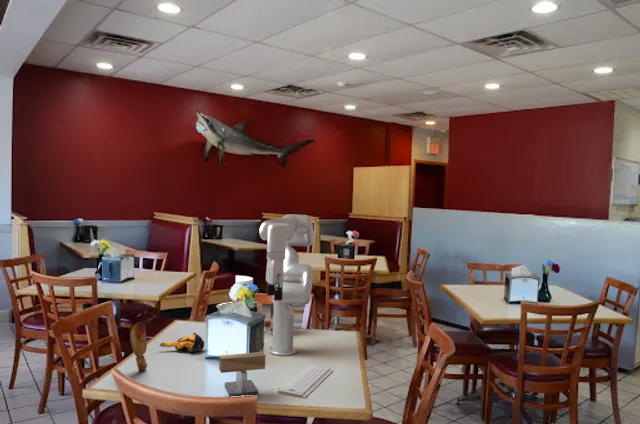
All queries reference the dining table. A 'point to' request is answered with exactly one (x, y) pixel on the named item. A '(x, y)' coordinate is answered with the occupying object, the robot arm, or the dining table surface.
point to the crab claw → (139, 344)
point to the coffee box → (272, 318)
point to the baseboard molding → (305, 381)
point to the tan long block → (241, 362)
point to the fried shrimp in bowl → (186, 344)
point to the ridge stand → (241, 385)
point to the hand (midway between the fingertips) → (274, 297)
